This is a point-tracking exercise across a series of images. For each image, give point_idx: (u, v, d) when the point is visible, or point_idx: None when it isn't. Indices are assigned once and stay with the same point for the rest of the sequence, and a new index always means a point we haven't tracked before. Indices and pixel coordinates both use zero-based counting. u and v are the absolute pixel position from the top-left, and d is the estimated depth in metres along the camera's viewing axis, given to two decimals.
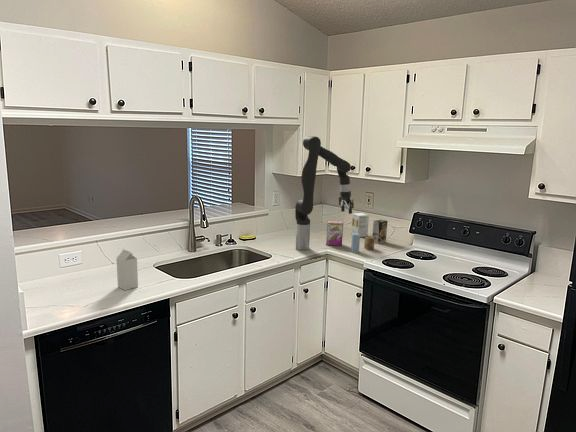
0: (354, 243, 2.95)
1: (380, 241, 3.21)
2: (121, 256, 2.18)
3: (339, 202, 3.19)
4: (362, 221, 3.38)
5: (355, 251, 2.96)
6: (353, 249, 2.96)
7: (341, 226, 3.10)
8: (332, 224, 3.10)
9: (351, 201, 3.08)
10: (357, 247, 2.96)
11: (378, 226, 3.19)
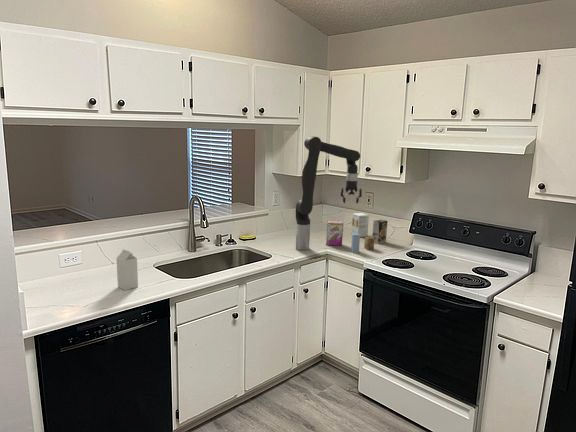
0: (354, 243, 2.95)
1: (380, 241, 3.21)
2: (121, 256, 2.18)
3: (342, 193, 3.07)
4: (362, 221, 3.38)
5: (355, 251, 2.96)
6: (353, 249, 2.96)
7: (341, 226, 3.10)
8: (332, 224, 3.10)
9: None
10: (357, 247, 2.96)
11: (378, 226, 3.19)
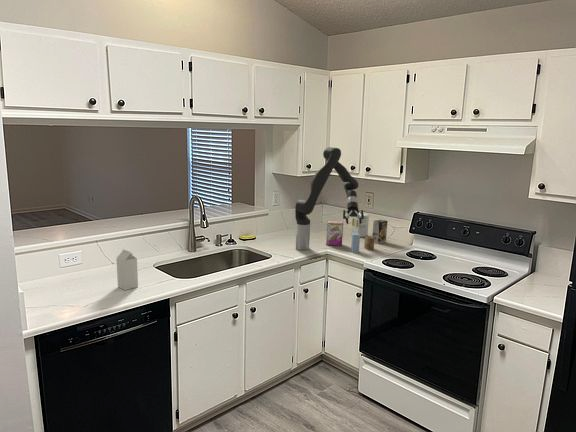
0: (354, 243, 2.95)
1: (380, 241, 3.21)
2: (121, 256, 2.18)
3: (344, 214, 3.09)
4: (362, 221, 3.38)
5: (355, 251, 2.96)
6: (353, 249, 2.96)
7: (341, 226, 3.10)
8: (332, 224, 3.10)
9: (362, 212, 3.11)
10: (357, 247, 2.96)
11: (378, 226, 3.19)
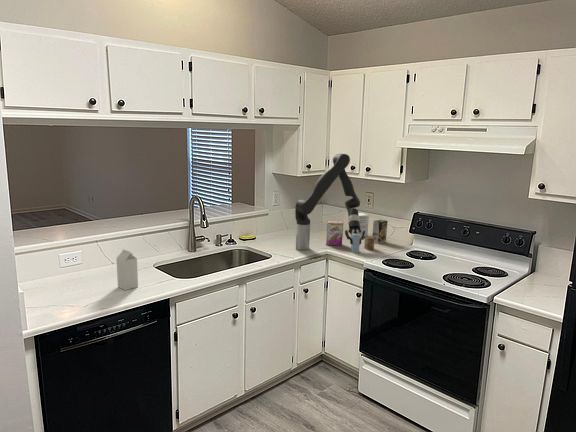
0: (354, 243, 2.95)
1: (380, 241, 3.21)
2: (121, 256, 2.18)
3: (347, 234, 2.98)
4: (362, 221, 3.38)
5: (355, 251, 2.96)
6: (353, 249, 2.96)
7: (341, 226, 3.10)
8: (332, 224, 3.10)
9: (364, 232, 3.00)
10: (357, 247, 2.96)
11: (378, 226, 3.19)
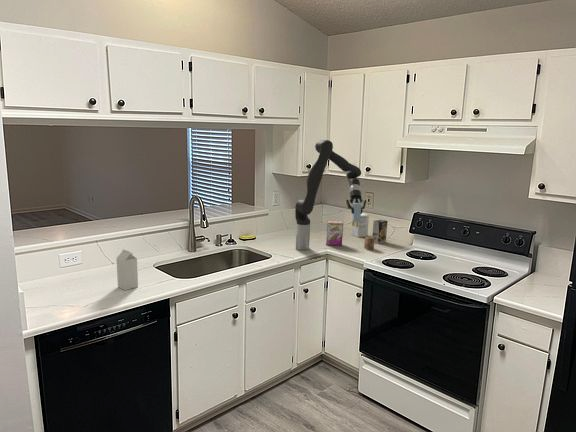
0: (355, 212, 2.93)
1: (380, 241, 3.21)
2: (121, 256, 2.18)
3: (349, 204, 2.96)
4: (362, 221, 3.38)
5: (356, 220, 2.94)
6: (354, 218, 2.94)
7: (341, 226, 3.10)
8: (332, 224, 3.10)
9: (365, 202, 2.98)
10: (358, 216, 2.94)
11: (378, 226, 3.19)
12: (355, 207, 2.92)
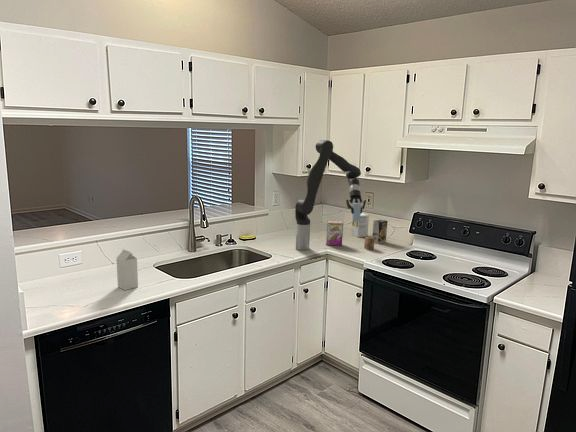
0: (355, 212, 2.94)
1: (380, 241, 3.21)
2: (121, 256, 2.18)
3: (348, 203, 2.97)
4: (362, 221, 3.38)
5: (356, 220, 2.95)
6: (354, 218, 2.95)
7: (341, 226, 3.10)
8: (332, 224, 3.10)
9: (365, 202, 2.99)
10: (358, 216, 2.95)
11: (378, 226, 3.19)
12: (355, 207, 2.93)
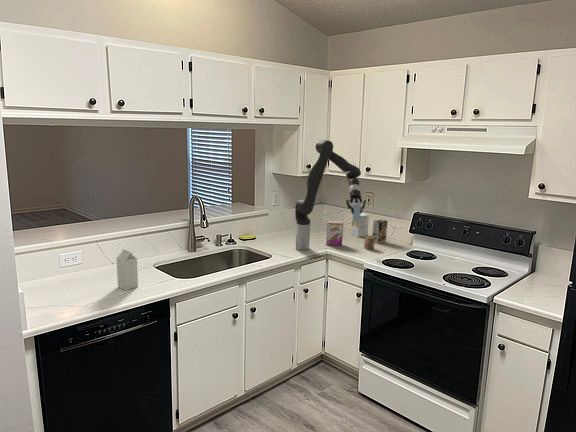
0: (355, 212, 2.94)
1: (380, 241, 3.21)
2: (121, 256, 2.18)
3: (348, 203, 2.97)
4: (362, 221, 3.38)
5: (356, 220, 2.95)
6: (354, 218, 2.95)
7: (341, 226, 3.10)
8: (332, 224, 3.10)
9: (365, 202, 2.99)
10: (358, 216, 2.95)
11: (378, 226, 3.19)
12: (355, 207, 2.93)
